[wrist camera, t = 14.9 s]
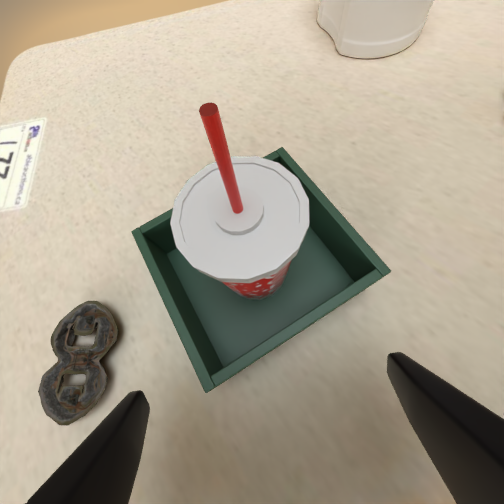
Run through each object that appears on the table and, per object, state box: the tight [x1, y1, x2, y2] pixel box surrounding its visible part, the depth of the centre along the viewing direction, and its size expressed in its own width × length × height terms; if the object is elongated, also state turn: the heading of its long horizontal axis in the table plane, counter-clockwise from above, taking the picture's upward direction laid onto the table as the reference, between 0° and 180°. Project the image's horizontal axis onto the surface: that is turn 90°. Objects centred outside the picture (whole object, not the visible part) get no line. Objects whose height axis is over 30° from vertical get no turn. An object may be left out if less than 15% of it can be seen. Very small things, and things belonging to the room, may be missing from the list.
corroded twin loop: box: [38, 301, 118, 425], centre depth 18 cm, size 5×8×1 cm, turn 0°
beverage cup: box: [170, 103, 309, 300], centre depth 13 cm, size 6×6×14 cm
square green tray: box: [132, 147, 391, 393], centre depth 18 cm, size 12×11×4 cm
